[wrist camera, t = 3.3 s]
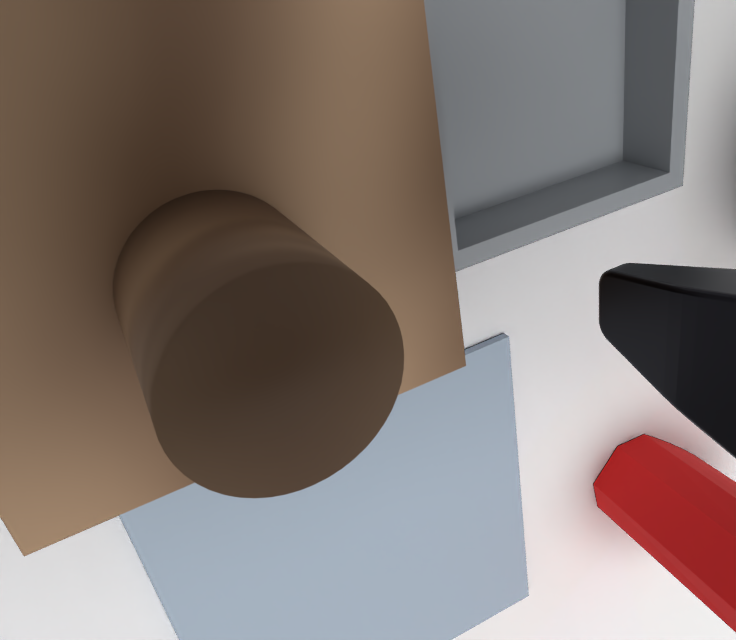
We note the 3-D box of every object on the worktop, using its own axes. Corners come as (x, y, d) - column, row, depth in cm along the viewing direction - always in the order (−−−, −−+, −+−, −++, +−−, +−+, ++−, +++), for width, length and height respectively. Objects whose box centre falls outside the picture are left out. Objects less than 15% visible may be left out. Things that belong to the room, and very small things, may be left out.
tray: (631, -135, 19) (704, -151, 17) (625, 169, 24) (682, 185, 22) (348, -82, 17) (394, -94, 15) (400, 250, 21) (442, 277, 19)
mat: (503, 333, 24) (508, 336, 24) (524, 591, 31) (528, 595, 31) (112, 498, 20) (113, 504, 20) (235, 754, 27) (238, 761, 27)
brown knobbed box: (287, -96, 16) (572, -196, 8) (359, 279, 21) (582, 459, 13) (-196, -12, 13) (-552, -32, 5) (21, 403, 18) (27, 743, 10)
